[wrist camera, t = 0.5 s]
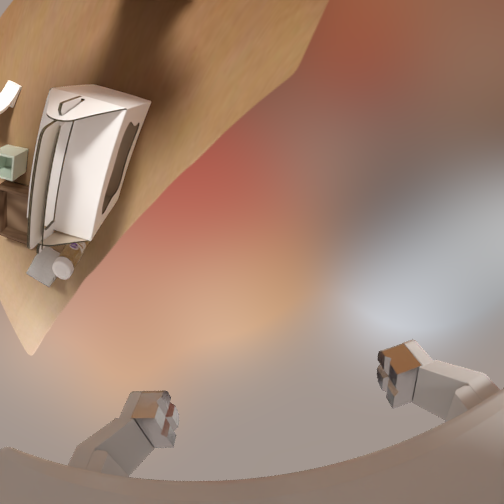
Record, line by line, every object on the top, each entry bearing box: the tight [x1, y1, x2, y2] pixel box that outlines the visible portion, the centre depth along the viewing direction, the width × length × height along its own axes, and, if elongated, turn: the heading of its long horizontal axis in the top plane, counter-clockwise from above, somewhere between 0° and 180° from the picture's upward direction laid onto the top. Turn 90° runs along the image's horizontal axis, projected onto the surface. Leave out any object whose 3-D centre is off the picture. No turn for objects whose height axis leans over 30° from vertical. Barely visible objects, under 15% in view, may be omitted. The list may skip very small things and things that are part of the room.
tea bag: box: [26, 246, 61, 287], centre depth 56 cm, size 4×7×10 cm, turn 52°
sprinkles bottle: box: [52, 241, 90, 280], centre depth 53 cm, size 5×5×14 cm
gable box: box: [27, 84, 151, 254], centre depth 37 cm, size 22×13×28 cm, turn 154°
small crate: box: [0, 144, 29, 181], centre depth 43 cm, size 7×6×6 cm
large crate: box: [0, 180, 29, 244], centre depth 50 cm, size 13×11×4 cm
